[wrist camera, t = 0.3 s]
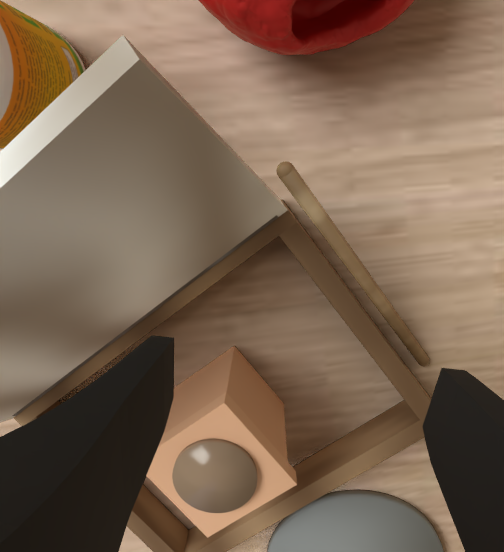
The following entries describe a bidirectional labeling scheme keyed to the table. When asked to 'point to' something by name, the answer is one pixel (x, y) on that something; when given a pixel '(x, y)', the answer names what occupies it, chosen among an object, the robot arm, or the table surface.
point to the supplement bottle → (30, 70)
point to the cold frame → (160, 265)
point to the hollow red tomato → (304, 21)
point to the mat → (355, 526)
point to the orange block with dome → (223, 445)
